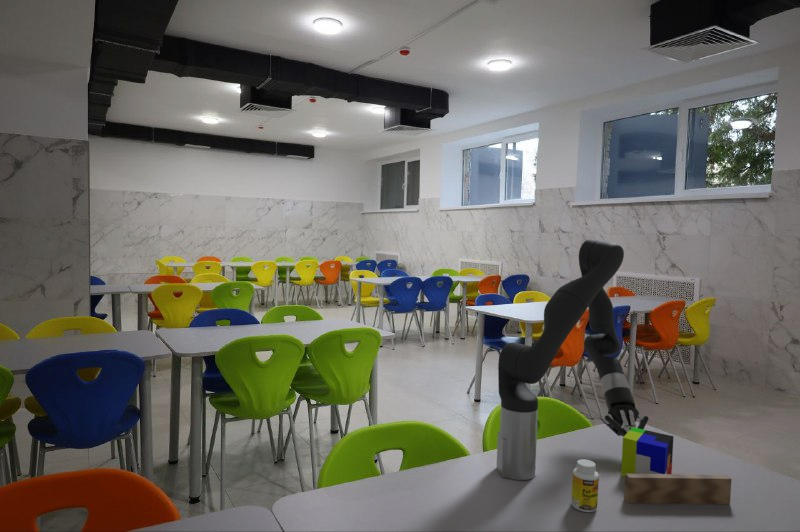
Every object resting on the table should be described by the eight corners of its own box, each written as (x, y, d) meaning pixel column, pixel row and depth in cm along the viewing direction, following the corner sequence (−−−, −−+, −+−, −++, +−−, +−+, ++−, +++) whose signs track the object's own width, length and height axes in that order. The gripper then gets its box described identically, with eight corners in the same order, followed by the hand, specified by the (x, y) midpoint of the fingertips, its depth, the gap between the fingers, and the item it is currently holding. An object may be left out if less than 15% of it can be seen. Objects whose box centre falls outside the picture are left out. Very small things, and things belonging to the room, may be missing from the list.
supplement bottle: (580, 514, 115) (582, 469, 114) (566, 502, 120) (568, 458, 119) (602, 512, 116) (604, 467, 115) (588, 500, 121) (590, 456, 121)
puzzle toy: (663, 487, 129) (665, 447, 128) (621, 475, 135) (622, 437, 134) (671, 473, 137) (673, 436, 136) (630, 463, 143) (632, 427, 142)
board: (628, 503, 120) (629, 477, 120) (624, 498, 122) (625, 473, 122) (729, 504, 121) (731, 478, 121) (724, 499, 123) (725, 474, 123)
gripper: (598, 385, 150) (615, 443, 139) (643, 386, 151) (664, 444, 139) (590, 397, 156) (606, 455, 144) (634, 398, 157) (653, 455, 145)
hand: (634, 449), depth 142 cm, fingers closed
